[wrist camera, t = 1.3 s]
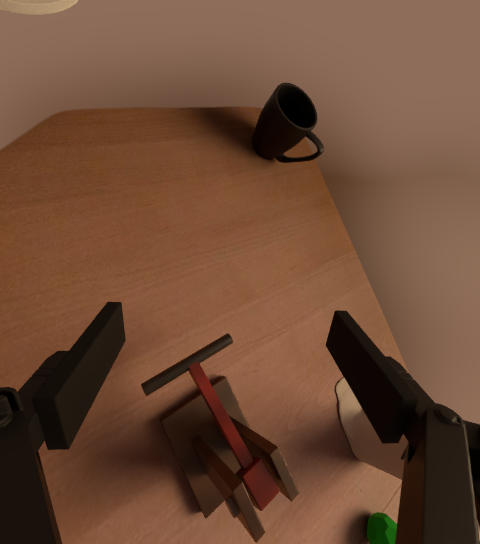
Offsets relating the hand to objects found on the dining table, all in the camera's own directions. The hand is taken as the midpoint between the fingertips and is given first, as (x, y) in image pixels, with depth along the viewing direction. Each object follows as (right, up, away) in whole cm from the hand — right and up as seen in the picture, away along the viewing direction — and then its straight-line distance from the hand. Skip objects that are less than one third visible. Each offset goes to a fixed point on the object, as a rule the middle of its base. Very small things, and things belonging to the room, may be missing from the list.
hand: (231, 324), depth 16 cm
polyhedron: (+21, -36, +24) cm, 48 cm away
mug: (+6, +25, +32) cm, 41 cm away
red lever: (-1, -12, +9) cm, 15 cm away
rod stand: (-3, -18, +16) cm, 24 cm away
